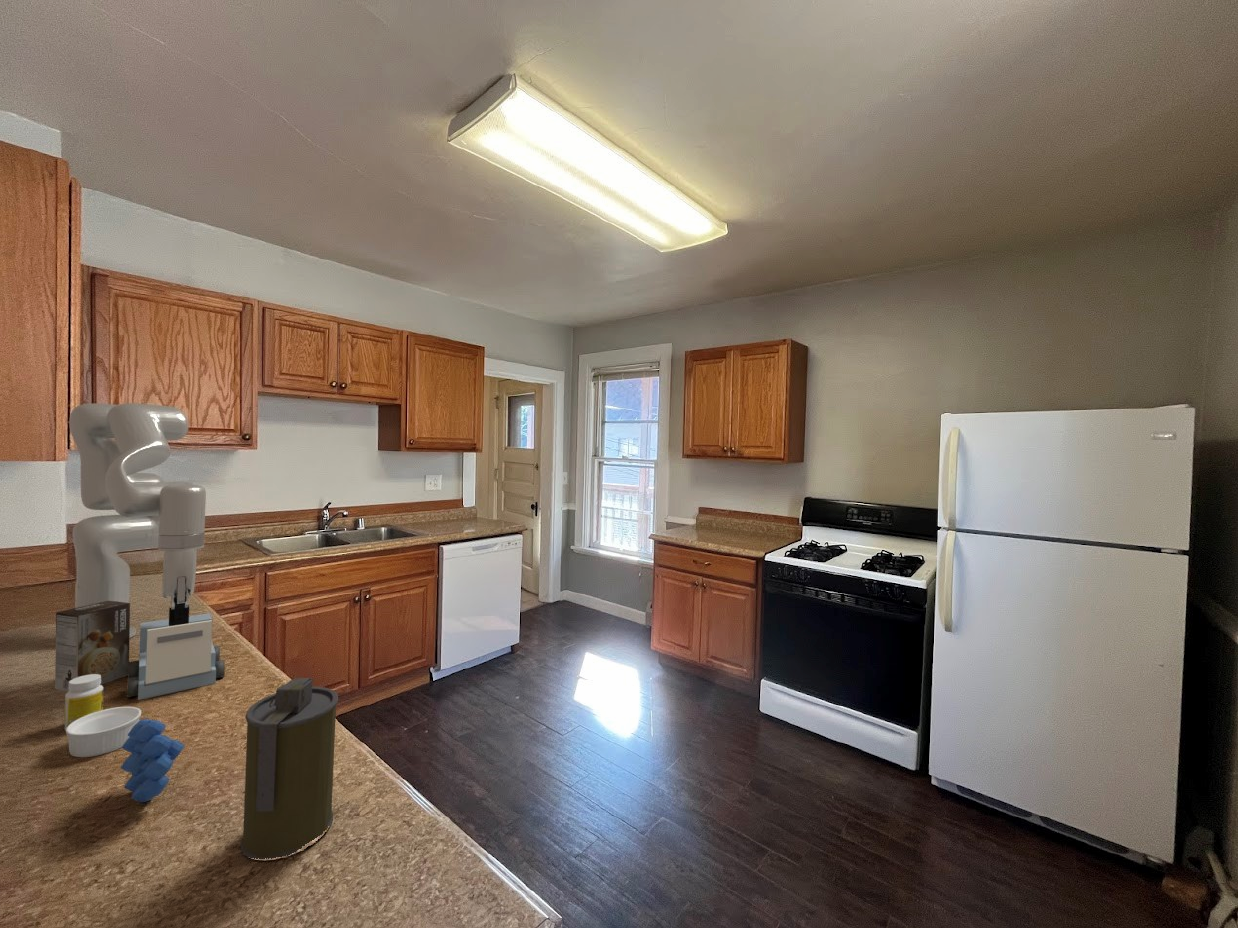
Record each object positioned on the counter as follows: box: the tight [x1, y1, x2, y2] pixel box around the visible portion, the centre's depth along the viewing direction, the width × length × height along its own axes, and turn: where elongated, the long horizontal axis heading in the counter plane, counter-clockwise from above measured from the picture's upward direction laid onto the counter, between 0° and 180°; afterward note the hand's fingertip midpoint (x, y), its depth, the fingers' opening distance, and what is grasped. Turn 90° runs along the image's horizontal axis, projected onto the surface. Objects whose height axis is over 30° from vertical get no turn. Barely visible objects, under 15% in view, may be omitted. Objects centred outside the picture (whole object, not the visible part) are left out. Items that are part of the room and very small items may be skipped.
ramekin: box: [65, 706, 142, 758], centre depth 84 cm, size 9×9×4 cm
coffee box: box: [54, 601, 131, 693], centre depth 104 cm, size 9×6×16 cm
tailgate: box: [144, 620, 213, 686], centre depth 102 cm, size 1×10×11 cm, turn 134°
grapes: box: [120, 718, 186, 803], centre depth 72 cm, size 12×7×12 cm, turn 59°
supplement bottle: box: [63, 674, 104, 731], centre depth 89 cm, size 5×5×8 cm
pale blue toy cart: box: [126, 612, 226, 701], centre depth 108 cm, size 16×15×11 cm
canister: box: [240, 677, 339, 859], centre depth 67 cm, size 11×10×20 cm
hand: (178, 625), depth 108 cm, fingers closed
